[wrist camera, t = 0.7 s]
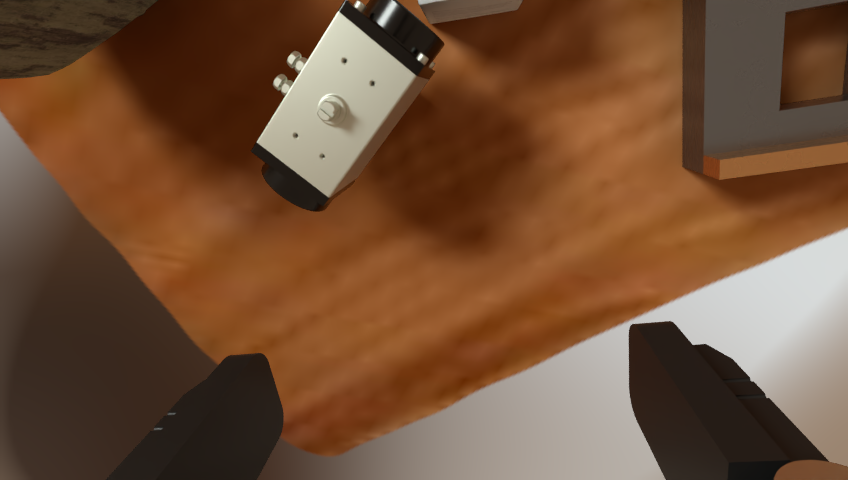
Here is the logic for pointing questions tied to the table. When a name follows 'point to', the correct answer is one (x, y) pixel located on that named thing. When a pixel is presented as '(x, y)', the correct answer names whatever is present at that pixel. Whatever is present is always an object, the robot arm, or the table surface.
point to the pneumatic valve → (344, 100)
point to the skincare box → (464, 8)
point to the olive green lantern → (58, 31)
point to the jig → (751, 93)
